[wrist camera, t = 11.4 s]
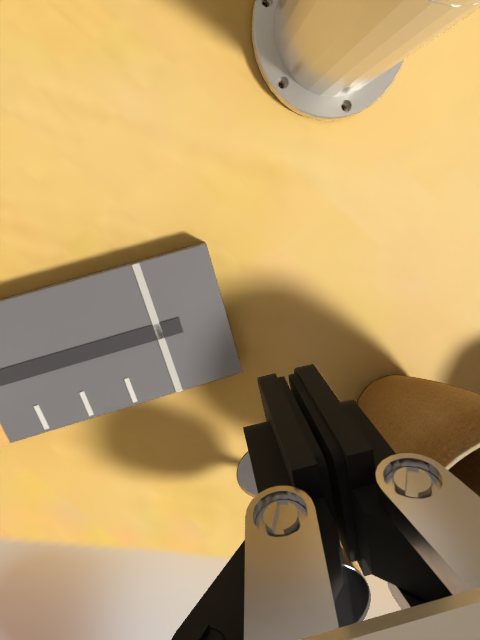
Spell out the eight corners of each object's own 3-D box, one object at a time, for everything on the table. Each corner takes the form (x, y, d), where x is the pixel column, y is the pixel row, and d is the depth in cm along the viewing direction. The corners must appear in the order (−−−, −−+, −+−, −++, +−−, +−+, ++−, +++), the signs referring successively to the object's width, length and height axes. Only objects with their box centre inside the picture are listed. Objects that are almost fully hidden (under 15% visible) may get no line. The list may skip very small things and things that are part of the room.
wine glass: (301, 430, 40) (366, 551, 26) (310, 492, 43) (374, 633, 28) (227, 448, 40) (253, 582, 25) (240, 510, 42) (270, 664, 28)
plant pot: (294, 401, 39) (366, 522, 24) (413, 313, 39) (564, 381, 23) (365, 491, 44) (463, 640, 29) (473, 414, 43) (632, 524, 28)
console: (-147, 340, 32) (-169, 349, 30) (204, 242, 34) (206, 244, 32) (-74, 458, 35) (-90, 474, 33) (239, 363, 37) (242, 372, 35)
